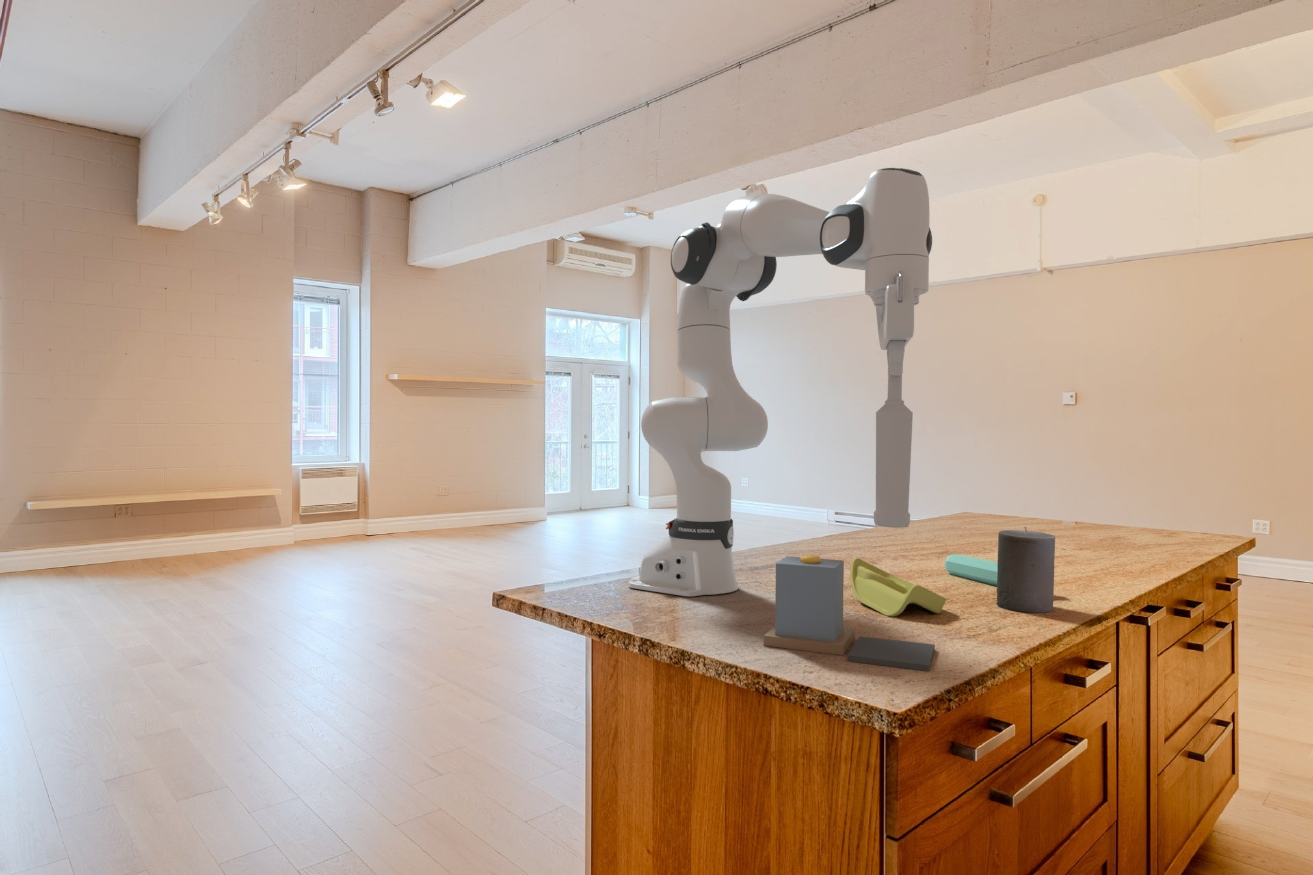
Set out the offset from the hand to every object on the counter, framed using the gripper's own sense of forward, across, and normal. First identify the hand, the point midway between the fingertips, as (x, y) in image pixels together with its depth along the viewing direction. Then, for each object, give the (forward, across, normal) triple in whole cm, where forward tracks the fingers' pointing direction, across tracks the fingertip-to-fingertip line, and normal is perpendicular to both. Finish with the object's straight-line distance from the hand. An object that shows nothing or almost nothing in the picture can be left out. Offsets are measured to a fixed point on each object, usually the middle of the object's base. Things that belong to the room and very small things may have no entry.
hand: (895, 376), depth 114 cm
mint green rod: (+42, +60, -24) cm, 76 cm away
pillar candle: (+41, +38, -26) cm, 62 cm away
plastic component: (+41, +34, -2) cm, 53 cm away
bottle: (+22, 0, 0) cm, 22 cm away
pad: (+41, 0, 0) cm, 41 cm away
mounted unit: (+41, +4, +12) cm, 43 cm away
